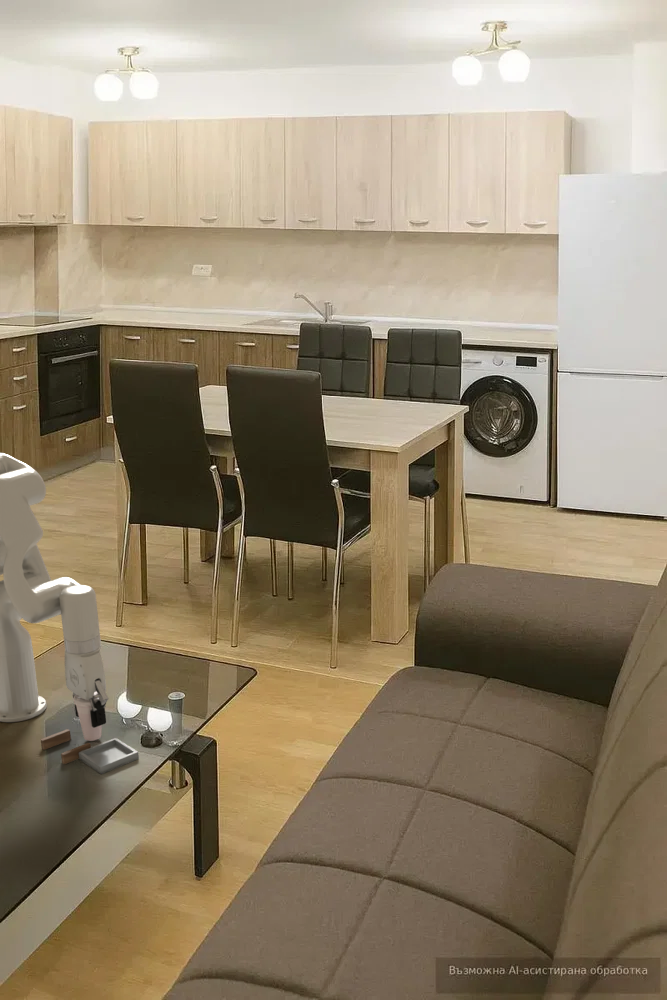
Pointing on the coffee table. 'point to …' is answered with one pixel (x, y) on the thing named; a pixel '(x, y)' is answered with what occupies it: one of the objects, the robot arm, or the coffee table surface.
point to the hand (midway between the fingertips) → (90, 719)
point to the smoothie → (87, 718)
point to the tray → (108, 755)
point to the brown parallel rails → (62, 738)
